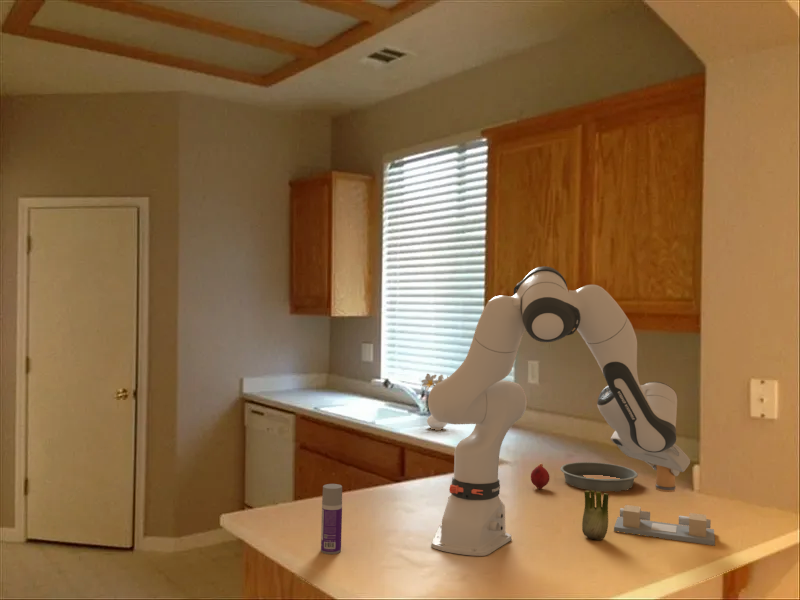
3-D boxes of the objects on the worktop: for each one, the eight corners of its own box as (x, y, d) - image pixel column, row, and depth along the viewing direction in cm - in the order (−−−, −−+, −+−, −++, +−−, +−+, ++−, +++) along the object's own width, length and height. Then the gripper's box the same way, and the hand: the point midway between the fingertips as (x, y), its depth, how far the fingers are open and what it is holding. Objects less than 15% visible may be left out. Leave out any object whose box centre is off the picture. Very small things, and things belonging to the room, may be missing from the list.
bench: (714, 545, 179) (715, 524, 179) (614, 531, 188) (614, 511, 188) (713, 533, 188) (714, 513, 188) (617, 521, 197) (618, 501, 197)
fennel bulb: (609, 540, 182) (611, 492, 182) (598, 543, 178) (599, 495, 178) (590, 533, 186) (591, 487, 186) (578, 537, 183) (579, 489, 183)
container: (345, 550, 169) (346, 486, 169) (330, 555, 165) (332, 489, 165) (331, 545, 172) (333, 482, 172) (316, 550, 168) (318, 486, 168)
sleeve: (674, 493, 185) (676, 457, 185) (655, 490, 187) (656, 455, 187) (675, 489, 190) (676, 454, 190) (656, 486, 191) (657, 452, 191)
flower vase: (452, 433, 322) (454, 377, 322) (414, 429, 330) (415, 374, 330) (462, 429, 334) (463, 374, 334) (425, 425, 342) (426, 372, 342)
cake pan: (546, 476, 248) (547, 463, 248) (610, 473, 254) (610, 460, 254) (584, 495, 224) (584, 481, 224) (653, 491, 231) (653, 477, 231)
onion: (540, 492, 225) (541, 466, 225) (526, 488, 230) (527, 463, 230) (552, 489, 229) (553, 464, 229) (538, 485, 233) (539, 460, 233)
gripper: (678, 433, 176) (706, 470, 180) (618, 420, 194) (645, 454, 198) (664, 453, 174) (692, 490, 178) (605, 437, 192) (632, 471, 197)
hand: (667, 471), depth 188 cm, fingers closed on sleeve, 5 cm apart
